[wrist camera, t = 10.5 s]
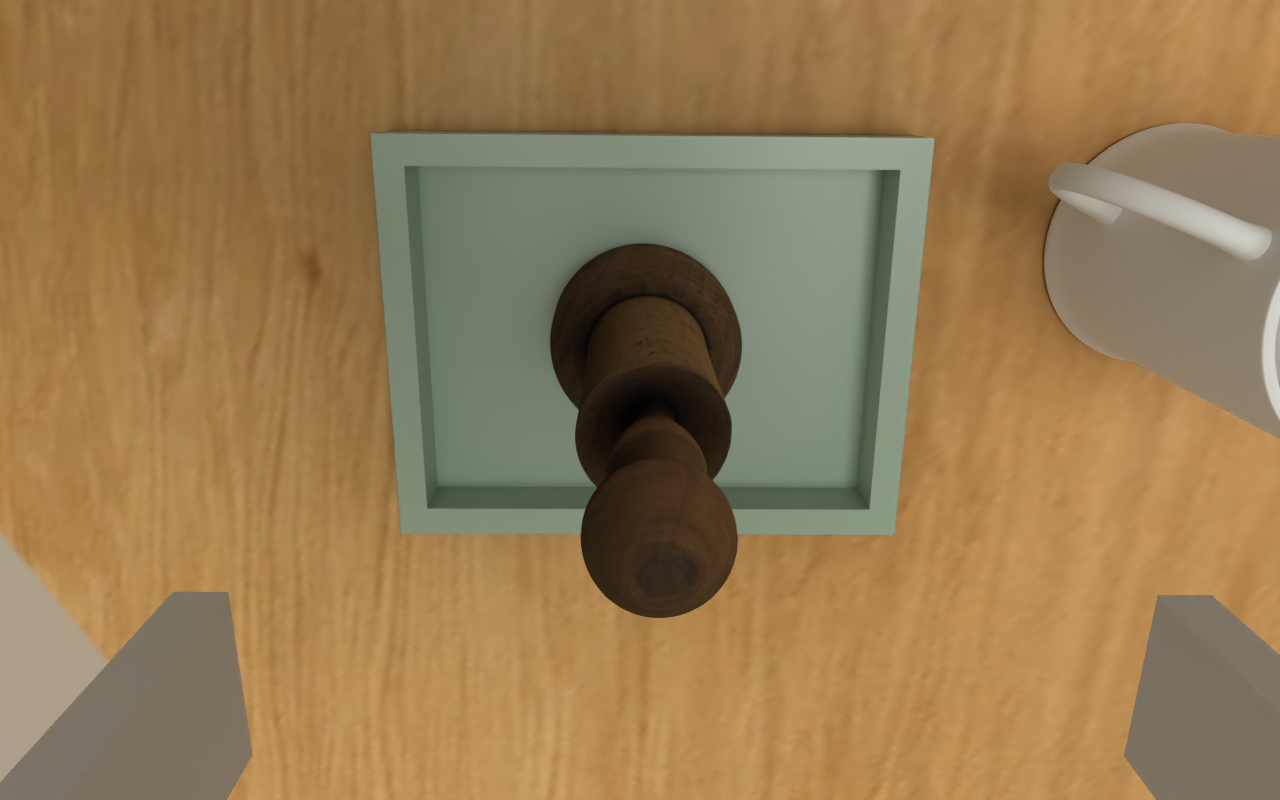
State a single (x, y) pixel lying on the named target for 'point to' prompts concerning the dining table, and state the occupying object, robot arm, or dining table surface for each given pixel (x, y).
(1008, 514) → the dining table surface
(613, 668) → the dining table surface
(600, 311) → the wooden pepper mill
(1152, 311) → the mug
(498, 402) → the tray
